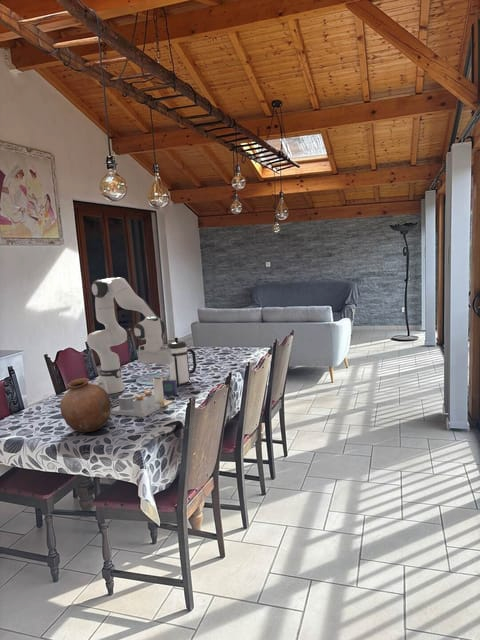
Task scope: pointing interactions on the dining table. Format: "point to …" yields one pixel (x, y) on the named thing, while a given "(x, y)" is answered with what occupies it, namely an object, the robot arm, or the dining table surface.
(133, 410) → the housing
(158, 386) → the cartridge
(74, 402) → the pottery
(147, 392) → the plunger
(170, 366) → the coffee press
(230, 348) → the dining table surface
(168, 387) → the dark blue rectangular block
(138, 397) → the plunger
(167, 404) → the trivet
